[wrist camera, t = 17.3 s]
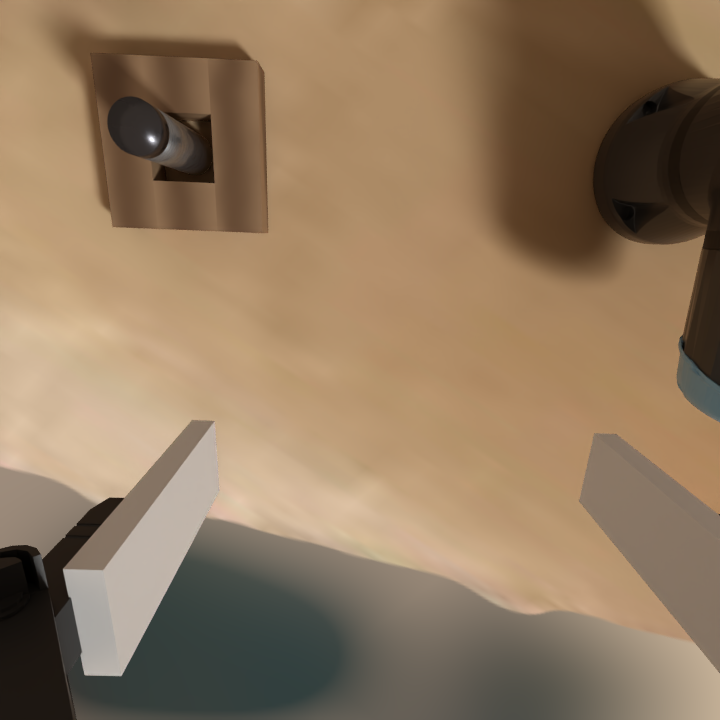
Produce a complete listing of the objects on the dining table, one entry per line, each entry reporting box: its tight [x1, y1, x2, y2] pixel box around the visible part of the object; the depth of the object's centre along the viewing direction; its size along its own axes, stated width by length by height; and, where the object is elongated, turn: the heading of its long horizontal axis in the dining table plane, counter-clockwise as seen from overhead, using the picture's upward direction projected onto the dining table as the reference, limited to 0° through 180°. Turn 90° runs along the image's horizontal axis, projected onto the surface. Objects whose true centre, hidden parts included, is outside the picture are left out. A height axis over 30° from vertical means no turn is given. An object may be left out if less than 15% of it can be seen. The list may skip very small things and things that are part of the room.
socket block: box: [91, 53, 268, 233], centre depth 42 cm, size 15×15×3 cm
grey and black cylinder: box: [107, 96, 213, 175], centre depth 38 cm, size 4×4×12 cm
